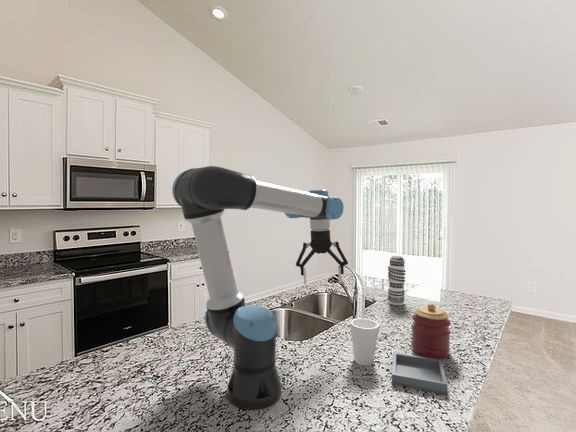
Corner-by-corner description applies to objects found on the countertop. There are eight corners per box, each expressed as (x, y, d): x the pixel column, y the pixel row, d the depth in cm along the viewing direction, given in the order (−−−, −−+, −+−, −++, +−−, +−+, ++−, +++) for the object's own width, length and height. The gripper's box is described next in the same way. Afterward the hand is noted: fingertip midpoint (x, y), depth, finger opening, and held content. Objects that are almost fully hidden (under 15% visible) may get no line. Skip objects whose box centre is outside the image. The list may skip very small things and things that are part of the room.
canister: (445, 345, 123) (447, 300, 122) (453, 362, 110) (455, 311, 109) (409, 341, 126) (410, 297, 125) (412, 356, 114) (414, 307, 113)
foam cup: (378, 369, 105) (379, 330, 104) (349, 366, 107) (350, 327, 106) (376, 355, 114) (377, 319, 114) (350, 352, 116) (350, 317, 115)
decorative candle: (383, 300, 177) (384, 255, 176) (397, 299, 180) (399, 255, 179) (393, 305, 168) (394, 258, 167) (408, 304, 171) (409, 257, 170)
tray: (447, 394, 91) (447, 384, 91) (391, 384, 96) (391, 374, 96) (441, 368, 106) (441, 360, 105) (393, 360, 111) (393, 352, 110)
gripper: (351, 226, 127) (353, 278, 129) (288, 229, 129) (291, 280, 132) (353, 229, 120) (355, 284, 122) (287, 232, 122) (290, 286, 124)
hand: (322, 282), depth 127 cm, fingers open, 13 cm apart
